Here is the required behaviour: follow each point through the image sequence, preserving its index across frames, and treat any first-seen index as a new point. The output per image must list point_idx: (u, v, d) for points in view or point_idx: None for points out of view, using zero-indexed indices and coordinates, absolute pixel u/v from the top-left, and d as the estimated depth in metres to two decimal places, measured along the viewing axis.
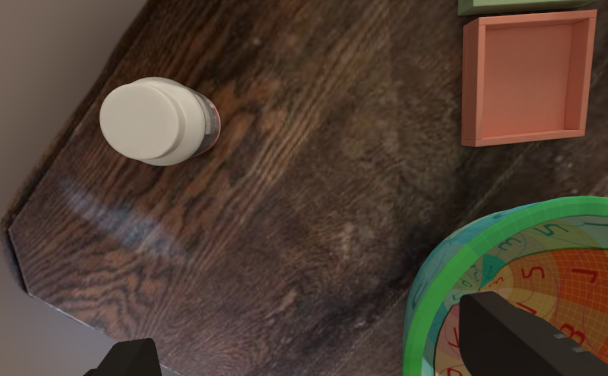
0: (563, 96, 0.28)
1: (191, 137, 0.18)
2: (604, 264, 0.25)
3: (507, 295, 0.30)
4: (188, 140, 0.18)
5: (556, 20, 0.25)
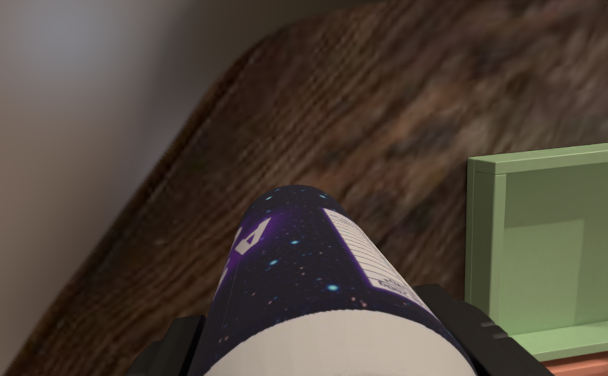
0: None
1: None
2: None
3: None
4: None
5: None
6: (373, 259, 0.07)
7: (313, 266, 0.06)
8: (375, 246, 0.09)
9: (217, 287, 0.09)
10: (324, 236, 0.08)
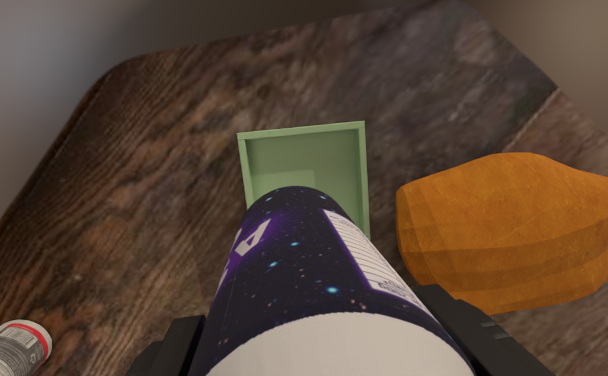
0: None
1: None
2: None
3: None
4: None
5: None
6: (373, 261, 0.07)
7: (313, 267, 0.06)
8: None
9: (217, 288, 0.09)
10: (324, 238, 0.08)
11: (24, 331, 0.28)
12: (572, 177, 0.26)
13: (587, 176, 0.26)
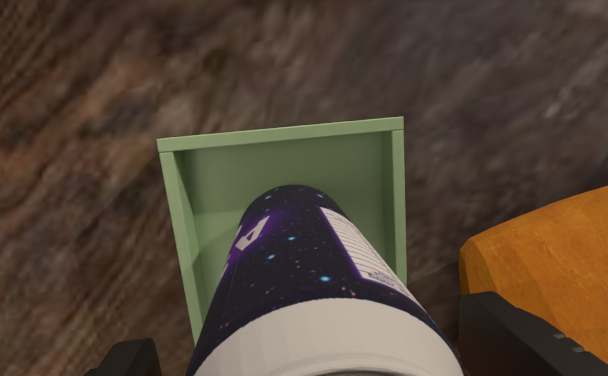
0: None
1: None
2: None
3: None
4: None
5: None
6: (365, 254, 0.07)
7: (308, 259, 0.06)
8: (369, 243, 0.10)
9: None
10: (319, 233, 0.08)
11: None
12: None
13: None
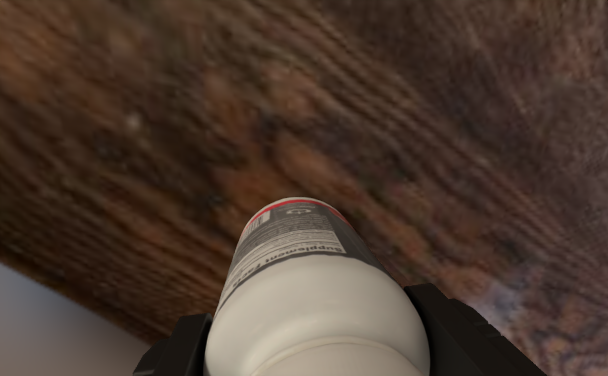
0: None
1: (367, 301, 0.06)
2: None
3: None
4: (374, 310, 0.06)
5: None
6: None
7: None
8: None
9: None
10: None
11: (243, 234, 0.12)
12: None
13: None
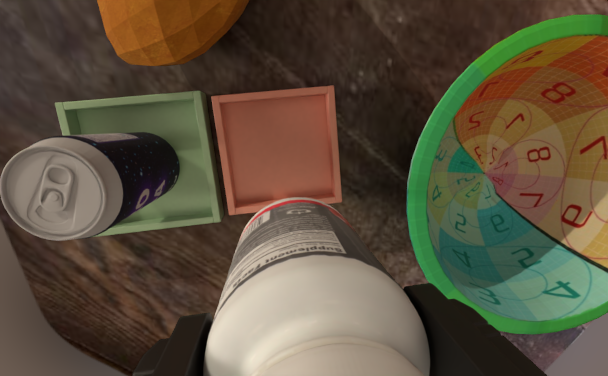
0: (291, 101, 0.27)
1: (367, 302, 0.06)
2: (479, 86, 0.23)
3: (495, 136, 0.29)
4: (374, 311, 0.06)
5: (224, 137, 0.26)
6: None
7: None
8: None
9: None
10: None
11: (243, 234, 0.12)
12: None
13: None
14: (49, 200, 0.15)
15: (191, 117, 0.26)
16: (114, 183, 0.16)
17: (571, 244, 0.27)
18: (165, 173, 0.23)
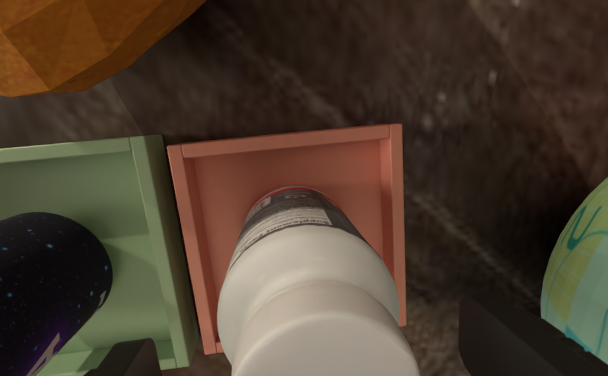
0: (319, 148, 0.15)
1: (346, 259, 0.08)
2: None
3: None
4: (352, 266, 0.08)
5: (194, 220, 0.14)
6: None
7: None
8: None
9: None
10: None
11: (247, 217, 0.14)
12: None
13: None
14: None
15: (135, 179, 0.14)
16: None
17: None
18: (59, 321, 0.11)
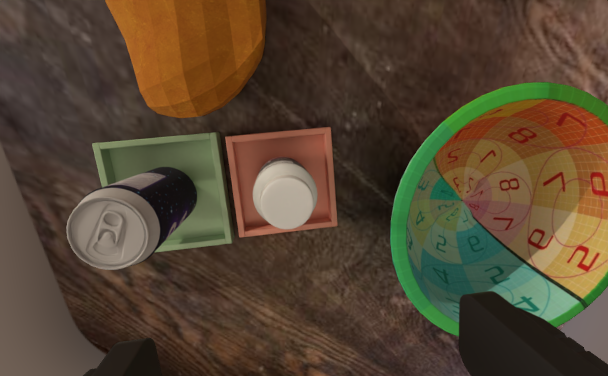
0: (294, 138, 0.31)
1: (296, 172, 0.24)
2: None
3: (472, 168, 0.33)
4: (298, 174, 0.24)
5: (236, 171, 0.30)
6: None
7: None
8: None
9: None
10: None
11: (260, 169, 0.30)
12: None
13: None
14: (104, 238, 0.19)
15: (207, 153, 0.31)
16: (154, 223, 0.20)
17: (535, 264, 0.31)
18: (187, 205, 0.27)
